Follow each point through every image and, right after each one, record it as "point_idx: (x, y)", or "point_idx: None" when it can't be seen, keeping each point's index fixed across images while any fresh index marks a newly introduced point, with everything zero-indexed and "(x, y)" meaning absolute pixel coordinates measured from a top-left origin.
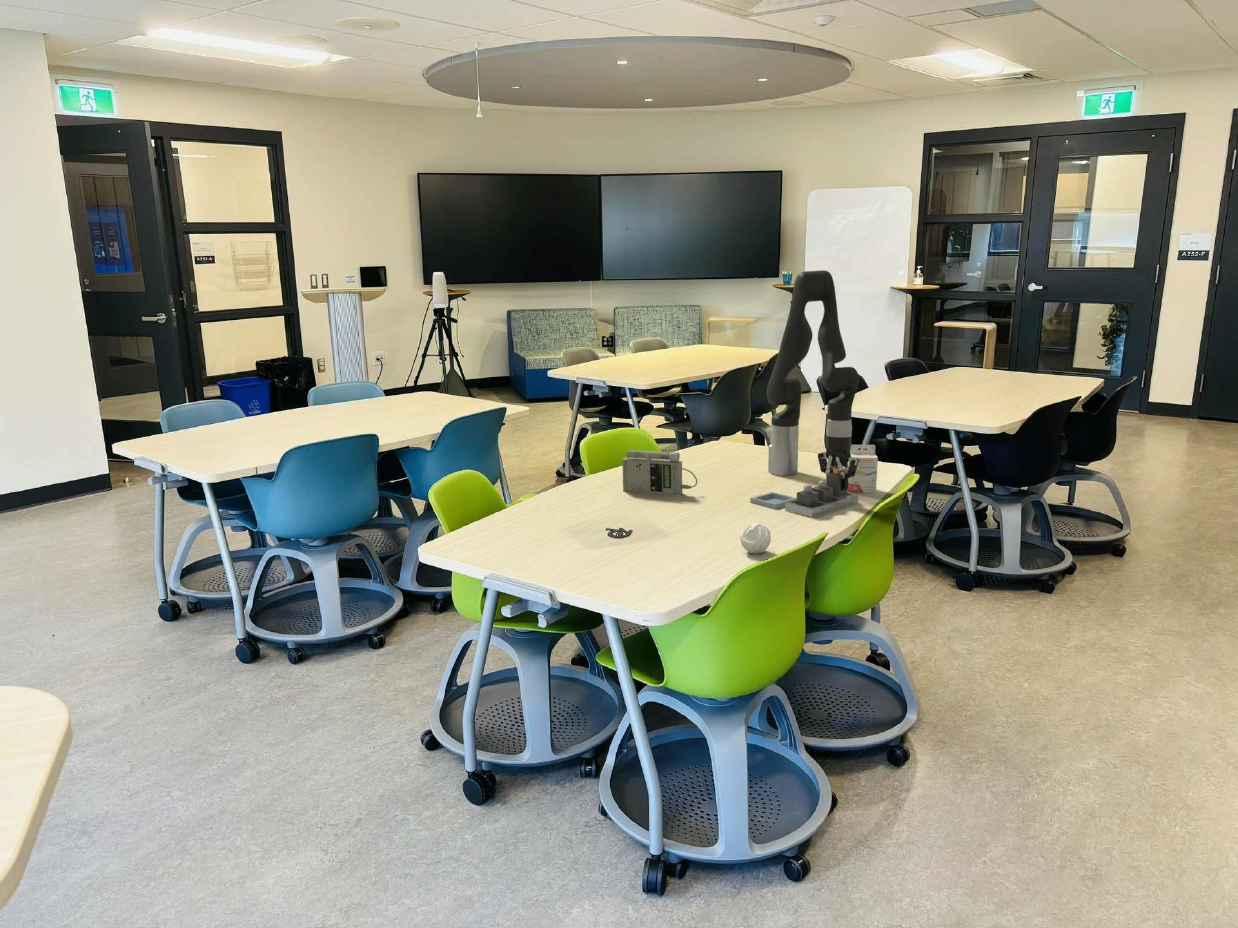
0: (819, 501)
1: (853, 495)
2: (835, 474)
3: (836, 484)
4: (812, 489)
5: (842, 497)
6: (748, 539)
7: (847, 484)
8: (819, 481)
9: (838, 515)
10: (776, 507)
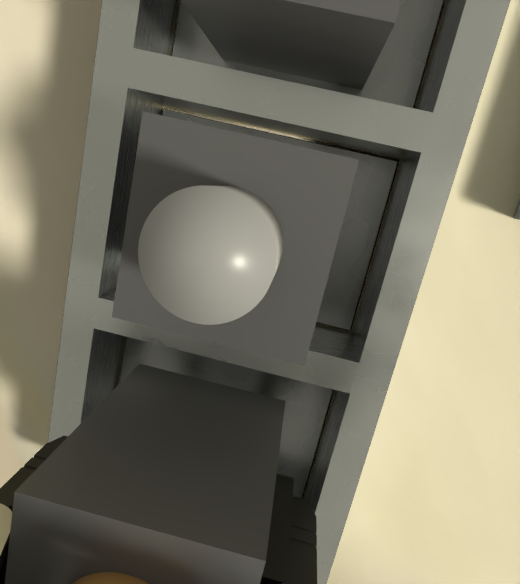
0: (216, 93)
1: None
2: (113, 575)
3: (115, 426)
4: (344, 159)
5: None
6: None
7: None
8: (256, 233)
9: (47, 91)
10: None
